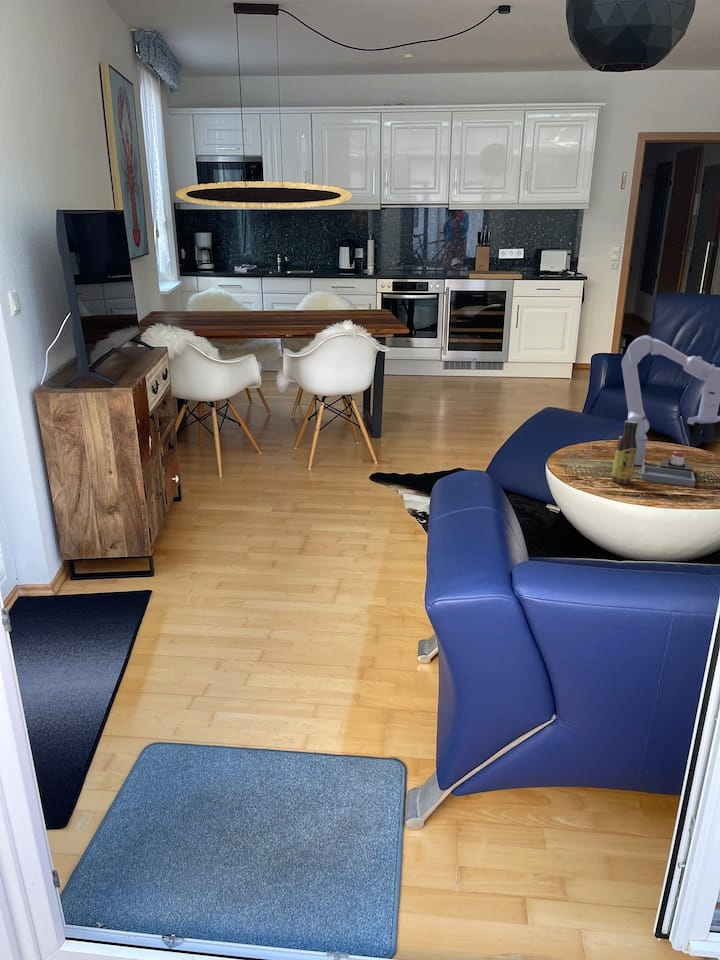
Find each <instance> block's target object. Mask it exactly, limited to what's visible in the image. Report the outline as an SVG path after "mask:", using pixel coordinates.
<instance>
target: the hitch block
mask: <svg viewBox="0 0 720 960" xmlns="http://www.w3.org/2000/svg"><path fill="white" fill-rule="evenodd" d="M659 463H660V464H659V467H660V468H667V469H675V470H683V471H690V472H694V466H693V463H687V462H684V463H683V467H675V466H670V464H671V460H670V461H669V460H663V459H661V460H660V462H659Z"/></svg>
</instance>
